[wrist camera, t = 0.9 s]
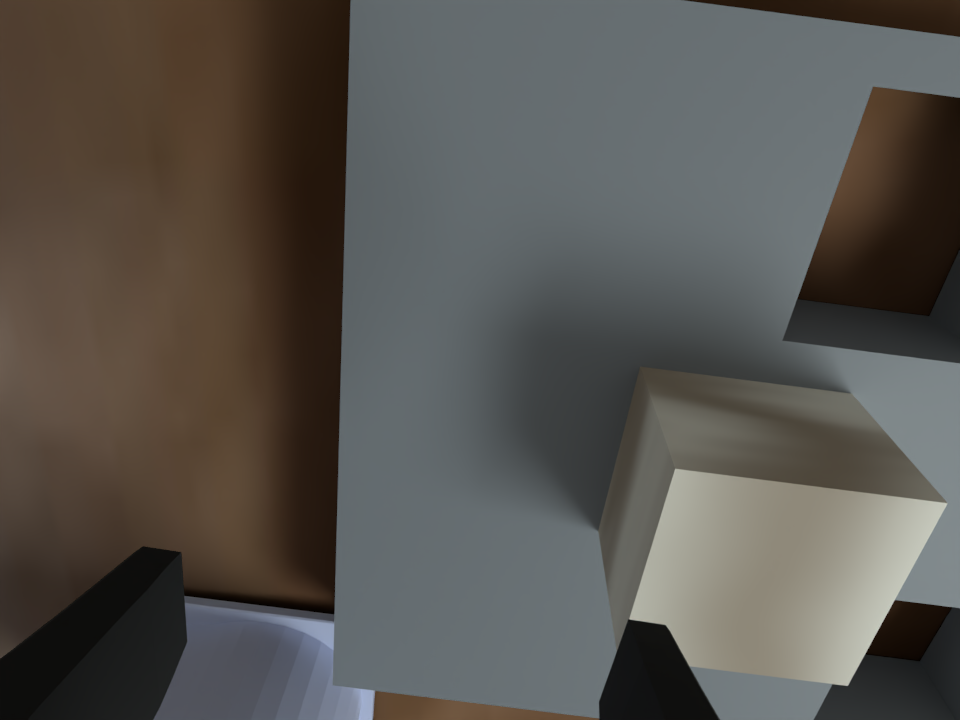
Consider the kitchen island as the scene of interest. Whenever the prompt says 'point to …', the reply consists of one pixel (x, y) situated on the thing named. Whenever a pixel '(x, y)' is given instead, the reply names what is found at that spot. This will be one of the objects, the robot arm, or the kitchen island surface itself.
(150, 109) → the kitchen island surface
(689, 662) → the birch block
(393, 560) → the trap board
